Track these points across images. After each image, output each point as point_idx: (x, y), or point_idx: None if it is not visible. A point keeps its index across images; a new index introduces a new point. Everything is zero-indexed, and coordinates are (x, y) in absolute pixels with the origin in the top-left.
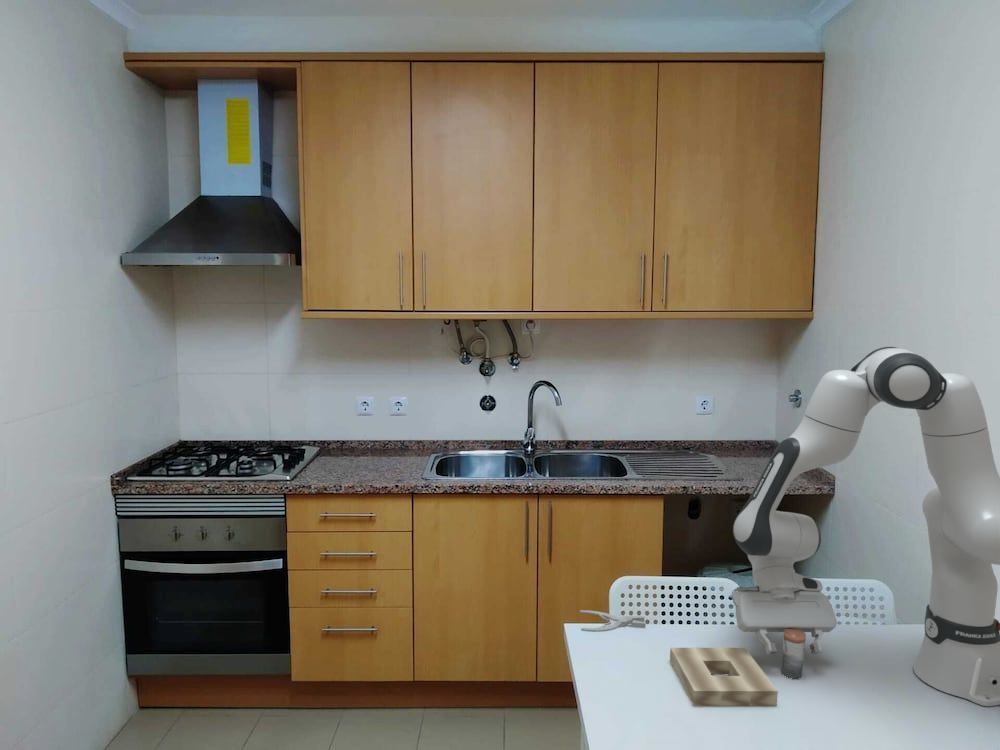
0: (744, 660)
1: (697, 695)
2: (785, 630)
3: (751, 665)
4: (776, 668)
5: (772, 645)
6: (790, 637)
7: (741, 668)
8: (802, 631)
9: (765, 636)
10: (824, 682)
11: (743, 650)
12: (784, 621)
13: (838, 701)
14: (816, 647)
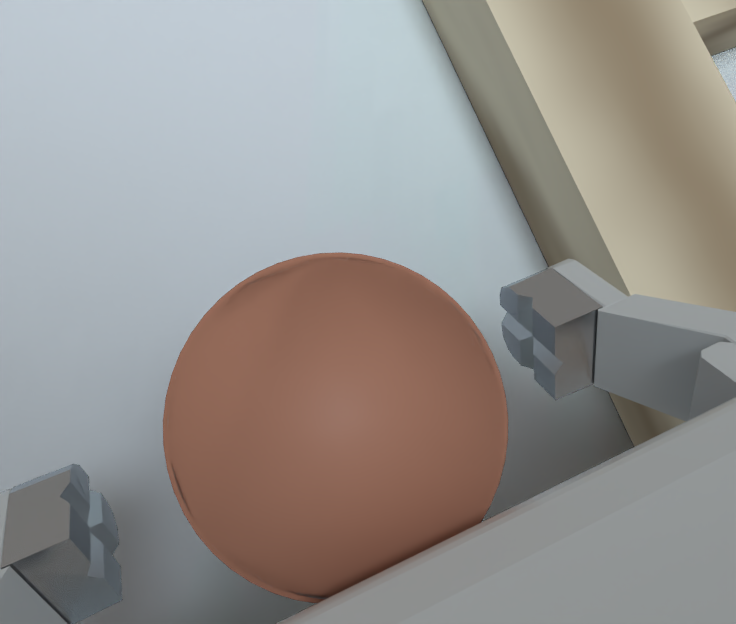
0: (696, 256)
1: None
2: (486, 446)
3: (639, 194)
4: None
5: (564, 294)
6: (405, 276)
7: (700, 124)
8: (205, 542)
9: (692, 323)
10: (65, 401)
11: None
12: (559, 583)
13: (6, 164)
14: (37, 503)
